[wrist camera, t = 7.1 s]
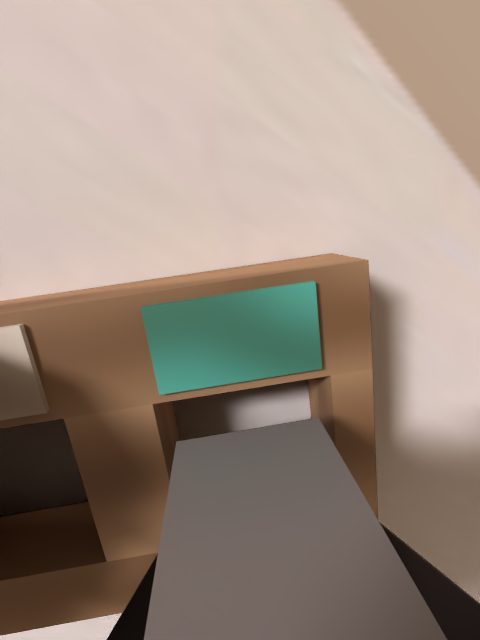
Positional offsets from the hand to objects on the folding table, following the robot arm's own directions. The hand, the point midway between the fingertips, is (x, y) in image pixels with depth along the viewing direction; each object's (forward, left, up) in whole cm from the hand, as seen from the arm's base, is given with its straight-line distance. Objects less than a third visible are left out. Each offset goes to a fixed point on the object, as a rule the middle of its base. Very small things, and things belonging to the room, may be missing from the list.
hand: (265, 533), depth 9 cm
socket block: (0, +4, -6) cm, 7 cm away
